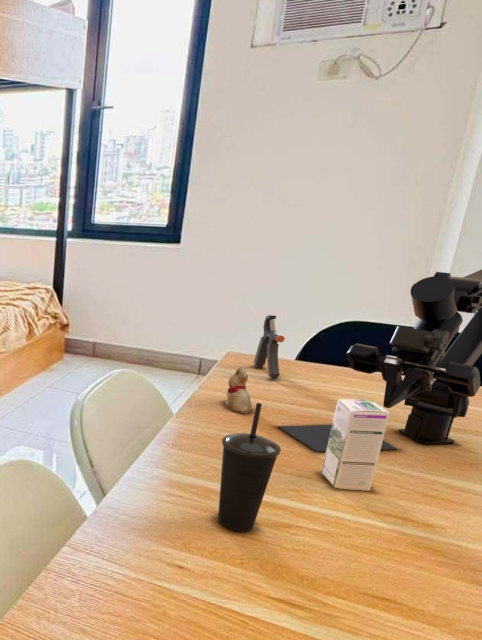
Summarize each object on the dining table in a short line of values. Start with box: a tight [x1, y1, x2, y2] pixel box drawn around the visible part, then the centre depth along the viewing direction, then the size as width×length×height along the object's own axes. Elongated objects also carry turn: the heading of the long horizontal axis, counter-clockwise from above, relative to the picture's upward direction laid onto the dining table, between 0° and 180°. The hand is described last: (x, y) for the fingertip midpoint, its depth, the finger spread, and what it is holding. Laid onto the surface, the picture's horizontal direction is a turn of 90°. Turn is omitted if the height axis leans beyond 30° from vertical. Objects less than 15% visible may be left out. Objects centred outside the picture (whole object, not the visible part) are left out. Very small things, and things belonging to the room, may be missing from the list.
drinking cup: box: [217, 402, 282, 533], centre depth 94 cm, size 8×8×20 cm
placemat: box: [277, 424, 397, 453], centre depth 126 cm, size 16×12×1 cm
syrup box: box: [320, 398, 390, 492], centre depth 107 cm, size 6×6×14 cm
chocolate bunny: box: [225, 365, 252, 415], centre depth 141 cm, size 6×8×10 cm
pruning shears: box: [253, 314, 285, 380], centre depth 162 cm, size 2×13×15 cm, turn 171°
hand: (386, 406), depth 110 cm, fingers closed
